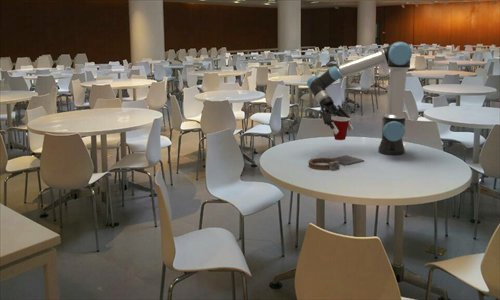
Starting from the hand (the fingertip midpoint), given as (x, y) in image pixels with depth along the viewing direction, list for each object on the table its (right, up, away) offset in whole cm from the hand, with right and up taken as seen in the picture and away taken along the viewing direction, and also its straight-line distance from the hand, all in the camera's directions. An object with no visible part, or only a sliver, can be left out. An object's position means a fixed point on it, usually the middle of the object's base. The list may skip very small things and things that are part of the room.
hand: (344, 131), depth 275 cm
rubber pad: (+2, -16, +9) cm, 19 cm away
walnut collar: (-11, -19, -1) cm, 22 cm away
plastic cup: (-2, -4, +4) cm, 6 cm away
